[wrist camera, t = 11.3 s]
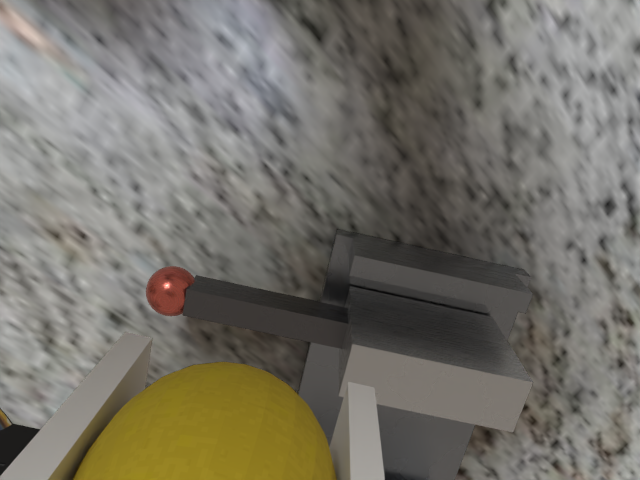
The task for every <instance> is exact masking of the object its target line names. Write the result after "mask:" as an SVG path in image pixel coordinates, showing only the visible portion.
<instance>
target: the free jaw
mask: <svg viewBox="0 0 640 480" xmlns="http://www.w3.org/2000/svg"><path fill="white" fill-rule="evenodd" d="M146 296H147V300H148V302H149V304H150V306H151V307H152V308H153V309H154V310H155V311H156V312H158V313H160V314H162V315H165V316H177V315H180V314H183V315H184V316H189V317H193V318H198V319H203V320H207V321H212V322H217V323H222V324H226V325H231V326H236V327H240V328H245V329H250V330H255V331H259V332H264V333H269V334H274V335H278V336H283V337H288V338H292V339H297V340H302V341H307V342H311V343H316V344H321V345H326V346H330V347H335V348H339V396H341V397H344V395H345V391H346V388H347V384H348V382H352V383H356V384H361V385H365V386H370V387H374V388H375V396H376V404H379V405H384V406H388V407H393V408H398V409H403V410H408V411H412V412H417V413H422V414H427V415H432V416H436V417H441V418H446V419H451V420H456V421H460V422H465V423H470V424H475V425H480V426H484V427H489V428H494V429H499V430H503V431H508V432H513V431H514V429H515V426H516V424H517V421H518V419H519V416H520V414H521V412H522V409H523V407H524V404H525V402H526V399H527V397H528V394H529V392H530V389H531V387H532V385H533V381H532V380H531V378H530V376H529V375H528V373H527V372H526V370H525V368H524V367H523V365H522V364H521V362H520V360H519V359H518V357H517V356H516V354H515V352H514V351H513V349H512V348H511V346H510V344H509V343H508V341H507V340H506V338H505V336H504V335H503V333H502V332H501V330H500V328H499V327H498V325H497V324H496V322H495V320H494V319H493V317H490V316H486V315H481V314H477V313H472V312H467V311H463V310H458V309H453V308H449V307H444V306H439V305H435V304H430V303H426V302H421V301H416V300H412V299H407V298H402V297H398V296H393V295H388V294H384V293H379V292H375V291H370V290H365V289H361V288H356V287H351V286H350V288H349V292H348V296H347V300H346V304H345V307H342V306H337V305H332V304H328V303H323V302H318V301H314V300H309V299H304V298H300V297H295V296H290V295H286V294H281V293H276V292H272V291H267V290H262V289H258V288H253V287H248V286H244V285H239V284H234V283H230V282H225V281H220V280H216V279H211V278H206V277H202V276H197V275H196V276H195V278H194V277H193V276H192V275H191V274H190V273H189V272H188V271H187V270H185V269H183V268H180V267H176V266H170V267H165V268H162V269H160V270H158V271H157V272H155V273H154V274H153V275H152V277H151V278H150V279H149V281H148V284H147V287H146Z"/></svg>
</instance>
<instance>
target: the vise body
mask: <svg viewBox="0 0 640 480" xmlns="http://www.w3.org/2000/svg"><path fill="white" fill-rule="evenodd" d="M530 279H531V276H530V275H529V274H528V273H527V272H526V271H525V270H523V269H518V268H513V267H509V266H504V265H500V264H495V263H491V262H486V261H481V260H477V259H472V258H468V257H463V256H459V255H454V254H450V253H445V252H440V251H436V250H431V249H427V248H422V247H418V246H413V245H408V244H404V243H399V242H395V241H390V240H386V239H381V238H376V237H372V236H367V235H363V234H358V233H354V232H349V231H345V230H340V229H337V231H336V235H335V239H334V243H333V248H332V252H331V256H330V260H329V264H328V269H327V273H326V277H325V281H324V285H323V290H322V294H321V298H320V302H323V303H328V304H332V305H337V306H342V307H345V304H346V300H347V296H348V292H349V288H350V286H351V287H356V288H361V289H365V290H370V291H375V292H379V293H384V294H388V295H393V296H398V297H402V298H407V299H412V300H416V301H421V302H426V303H430V304H435V305H439V306H444V307H449V308H453V309H458V310H463V311H467V312H472V313H477V314H481V315H486V316H490V317H493V319H494V320H495V322H496V324H497V325H498V327H499V328H500V330H501V332H502V333H503V335H504V336H505V338H506V340H508V337H509V335H510V332H511V329H512V327H513V324H514V321H515V319H516V316H517V313H518V312H520V313H525V314H526V311H527V309H528V306H529V304H530V301H531V298H532V296H533V294H532V292H531V291H530V290H529V289H528V288H527V287H528V284H529V282H530ZM298 395H299V396H300V397H301V398H302V399H303V400H304V401H305V402H306V403H307V404H308V406H309V407H310V409H311V410H312V412H313V414H314V416H315V417H316V419H317V421H318V422H319V424H320V426H321V428H322V429H323V431H324V433H325V436H326V438H327V441H328V445H329V447H330V444H331V440H332V437H333V433H334V430H335V426H336V423H337V419H338V416H339V412H340V409H341V405H342V402H343V398H344V397H341V396H339V348H335V347H330V346H326V345H321V344H316V343H311V342H310V344H309V348H308V352H307V357H306V361H305V365H304V369H303V373H302V378H301V382H300V386H299V390H298ZM376 405H377V414H378V423H379V432H380V441H381V449H382V458H383V467H384V476H385V480H455V477H456V475H457V472H458V469H459V467H460V464H461V461H462V459H463V456H464V454H465V451H466V448H467V446H468V443H469V440H470V438H471V435H472V432H473V430H474V427H475V424H470V423H465V422H460V421H456V420H451V419H446V418H441V417H436V416H432V415H427V414H422V413H417V412H412V411H408V410H403V409H398V408H393V407H388V406H384V405H379V404H376Z"/></svg>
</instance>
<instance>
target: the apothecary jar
mask: <svg viewBox="0 0 640 480" xmlns="http://www.w3.org/2000/svg"><path fill="white" fill-rule="evenodd" d="M10 425H12V424H11V422H10V420H9V419H8V418H7V416H6V415H5V414H4V413H3V412H2V410H1V409H0V431H1V430H2V429H4V428H6V427H8V426H10Z"/></svg>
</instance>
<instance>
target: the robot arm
mask: <svg viewBox="0 0 640 480" xmlns="http://www.w3.org/2000/svg"><path fill="white" fill-rule="evenodd" d="M151 345H152V338H151V337H146V336H142V335H137V334H133V333H128V332H125V333H124V334H123V335H122V336H121V337H120V339H119V340H118V341H117V342H116V343H115V344H114V345H113V347H112V348H111V349H110V350H109V351H108V352H107V354H106V355H105V356H104V357H103V358H102V359H101V360H100V362H99V363H98V364H97V365H96V366H95V367H94V369H93V370H92V371H91V372H90V373H89V374H88V375H87V377H86V378H85V379H84V380H83V381H82V382H81V384H80V385H79V386H78V387H77V388H76V389H75V390H74V392H73V393H72V394H71V395H70V396H69V397H68V399H67V400H66V401H65V402H64V403H63V404H62V405H61V407H60V408H59V409H58V410H57V411H56V412H55V414H54V415H53V416H52V417H51V418H50V419H49V420H48V422H47V423H46V424H45V425H44V426H43V427H42V429H41V430H40V429H35V428H30V427H26V426H21V425H16V424H12V425H10V426H8V427H6V428H4V429H2V430H1V431H0V480H73V478H74V475H75V473H76V471H77V469H78V467H79V465H80V463H81V461H82V460H83V458H84V456H85V455H86V453H87V451H88V450H89V448H90V447H91V445H92V444H93V443H94V441H95V440H96V439H97V437H98V436H99V435H100V434H101V432H102V431H103V430H104V429H105V427H106V426H107V425H108V423H109V422H110V421H111V420H112V418H113V417H114V416H115V415H116V414H117V413H118V411H119V410H120V409H121V408H122V407H123V406H124V405H125V404H126V403H127V402H128V401H130V400H131V399H132V398H133V397H134V396H136V395H137V394H139V393H140V392H142V391H143V390H144V389H145V385H146V379H147V372H148V365H149V358H150V351H151ZM329 449H330V453H331V457H332V461H333V465H334V469H335V474H336V478H337V480H385V476H384V467H383V458H382V449H381V441H380V432H379V423H378V414H377V405H376V396H375V388H374V387H370V386H365V385H361V384H356V383H352V382H348V384H347V388H346V391H345V395H344V398H343V402H342V405H341V409H340V412H339V416H338V419H337V423H336V426H335V430H334V433H333V437H332V440H331V444H330V447H329Z"/></svg>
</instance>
